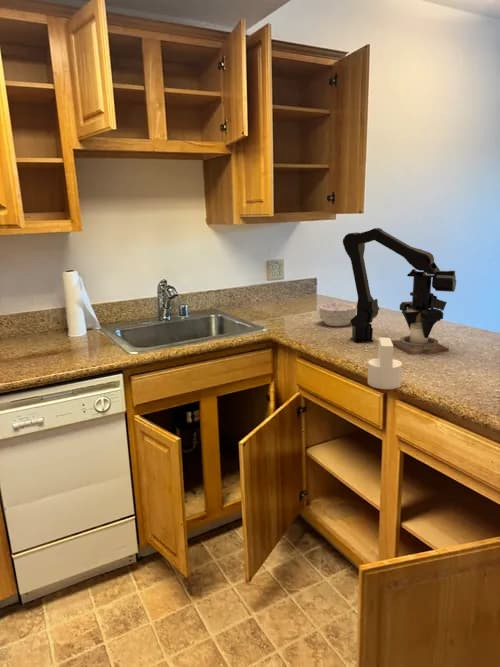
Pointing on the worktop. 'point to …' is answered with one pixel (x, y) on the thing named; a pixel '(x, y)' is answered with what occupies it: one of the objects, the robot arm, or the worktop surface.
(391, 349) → the cylinder with rectangular tab
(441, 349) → the collar base
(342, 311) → the white bowl
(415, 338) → the cap
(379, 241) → the robot arm
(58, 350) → the worktop surface
